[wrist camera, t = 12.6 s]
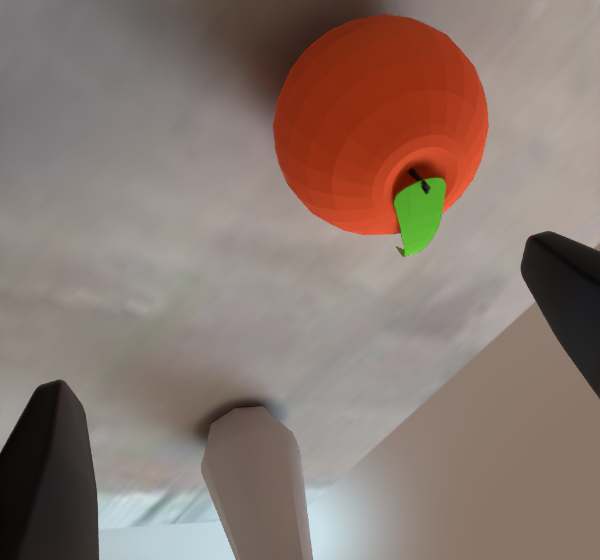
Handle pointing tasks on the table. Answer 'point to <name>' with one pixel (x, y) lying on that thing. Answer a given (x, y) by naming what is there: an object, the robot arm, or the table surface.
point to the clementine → (381, 127)
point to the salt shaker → (257, 485)
